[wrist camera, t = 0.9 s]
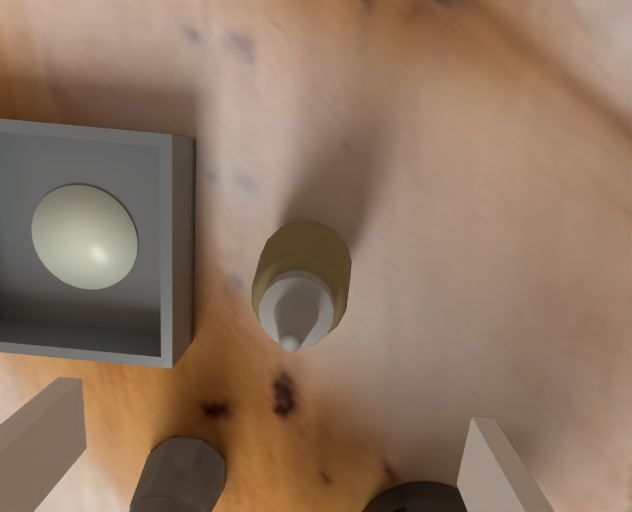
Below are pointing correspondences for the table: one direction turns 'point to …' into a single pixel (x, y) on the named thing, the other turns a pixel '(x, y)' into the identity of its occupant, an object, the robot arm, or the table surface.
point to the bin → (96, 243)
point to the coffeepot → (180, 478)
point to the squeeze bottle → (301, 284)
